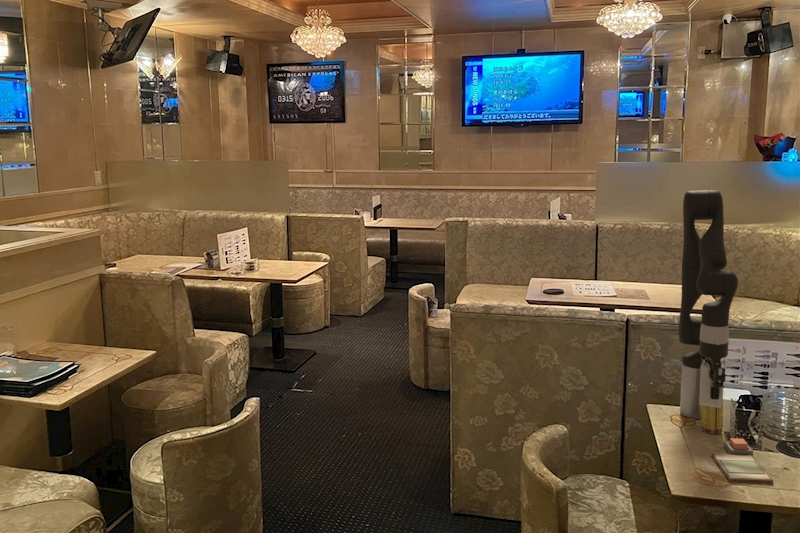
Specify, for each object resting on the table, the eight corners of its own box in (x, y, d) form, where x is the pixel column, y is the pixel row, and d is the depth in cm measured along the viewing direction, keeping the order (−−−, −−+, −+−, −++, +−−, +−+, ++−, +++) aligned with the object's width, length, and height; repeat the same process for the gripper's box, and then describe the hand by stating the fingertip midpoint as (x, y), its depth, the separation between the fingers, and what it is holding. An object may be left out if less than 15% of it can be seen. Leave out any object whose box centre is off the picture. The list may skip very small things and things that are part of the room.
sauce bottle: (718, 427, 212) (721, 367, 209) (725, 435, 206) (729, 374, 203) (696, 427, 213) (699, 367, 210) (703, 435, 207) (706, 374, 204)
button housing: (723, 447, 198) (724, 441, 198) (745, 448, 197) (745, 442, 197) (730, 456, 192) (731, 450, 192) (752, 457, 191) (753, 451, 191)
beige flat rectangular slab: (711, 456, 192) (711, 453, 192) (751, 458, 191) (752, 454, 191) (729, 482, 178) (729, 478, 178) (773, 483, 176) (773, 479, 176)
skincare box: (722, 403, 195) (724, 364, 193) (721, 408, 191) (723, 368, 189) (700, 400, 198) (702, 361, 196) (698, 405, 194) (700, 366, 192)
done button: (729, 444, 196) (730, 438, 196) (742, 445, 196) (743, 438, 196) (734, 449, 193) (734, 443, 193) (747, 450, 192) (747, 443, 192)
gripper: (693, 332, 199) (690, 386, 202) (708, 346, 185) (705, 404, 188) (719, 332, 197) (716, 386, 200) (736, 346, 183) (733, 404, 186)
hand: (711, 394), depth 194 cm, fingers closed on skincare box, 5 cm apart
